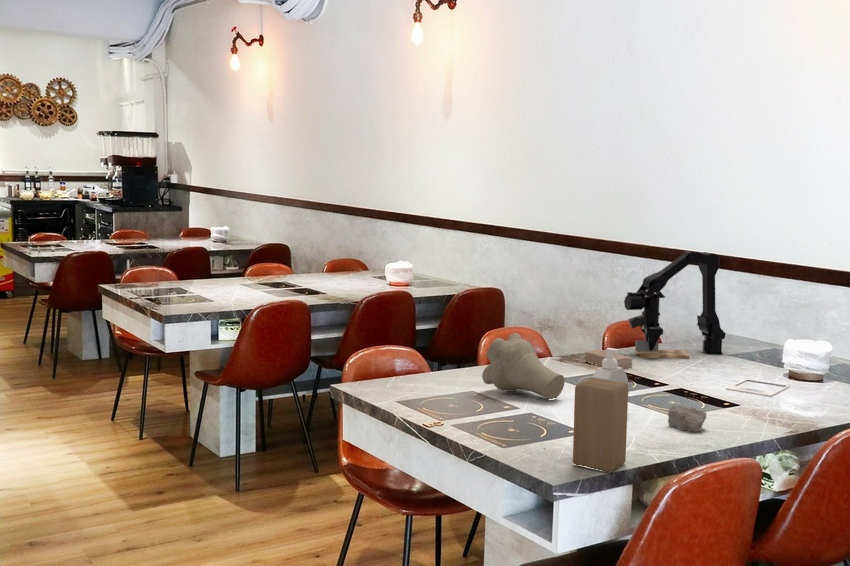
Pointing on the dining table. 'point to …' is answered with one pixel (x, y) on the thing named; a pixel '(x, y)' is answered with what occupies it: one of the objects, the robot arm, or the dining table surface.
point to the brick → (599, 355)
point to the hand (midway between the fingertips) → (649, 349)
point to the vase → (520, 368)
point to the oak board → (666, 354)
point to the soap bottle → (611, 369)
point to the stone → (686, 418)
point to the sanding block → (645, 347)
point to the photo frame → (755, 391)
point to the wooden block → (600, 424)
